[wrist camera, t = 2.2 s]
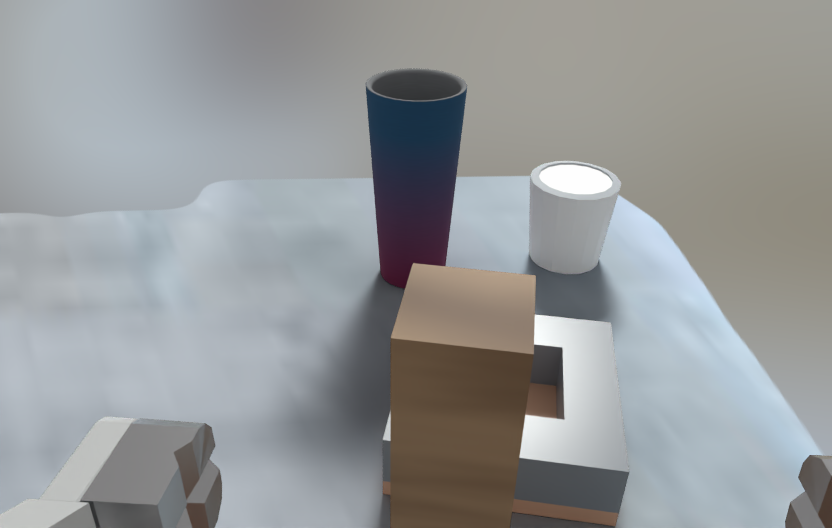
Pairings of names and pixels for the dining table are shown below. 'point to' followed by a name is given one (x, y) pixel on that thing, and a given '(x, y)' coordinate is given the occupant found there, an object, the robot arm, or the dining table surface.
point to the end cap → (568, 426)
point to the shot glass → (570, 215)
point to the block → (459, 396)
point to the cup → (414, 165)
